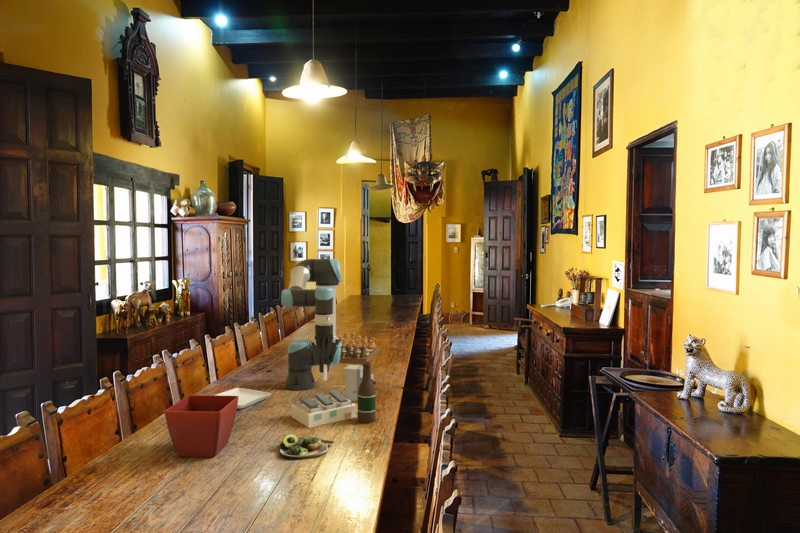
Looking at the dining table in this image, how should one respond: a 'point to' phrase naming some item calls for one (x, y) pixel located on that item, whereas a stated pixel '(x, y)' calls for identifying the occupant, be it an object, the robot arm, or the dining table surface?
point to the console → (323, 412)
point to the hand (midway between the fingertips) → (324, 379)
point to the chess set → (357, 349)
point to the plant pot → (201, 424)
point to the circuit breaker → (353, 381)
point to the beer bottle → (366, 396)
